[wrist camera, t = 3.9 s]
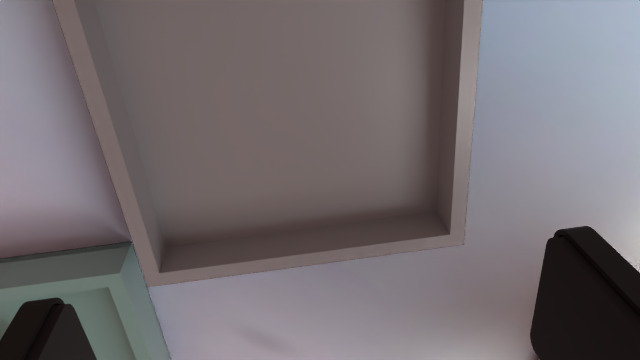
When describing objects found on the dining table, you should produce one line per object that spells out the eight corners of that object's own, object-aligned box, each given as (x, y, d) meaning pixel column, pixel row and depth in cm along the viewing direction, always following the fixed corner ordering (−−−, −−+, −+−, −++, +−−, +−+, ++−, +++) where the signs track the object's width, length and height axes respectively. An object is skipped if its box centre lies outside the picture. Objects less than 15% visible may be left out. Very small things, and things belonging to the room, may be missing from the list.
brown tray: (465, -119, 18) (492, -122, 16) (447, 217, 26) (463, 244, 23) (53, -80, 17) (25, -79, 15) (157, 255, 25) (147, 287, 23)
